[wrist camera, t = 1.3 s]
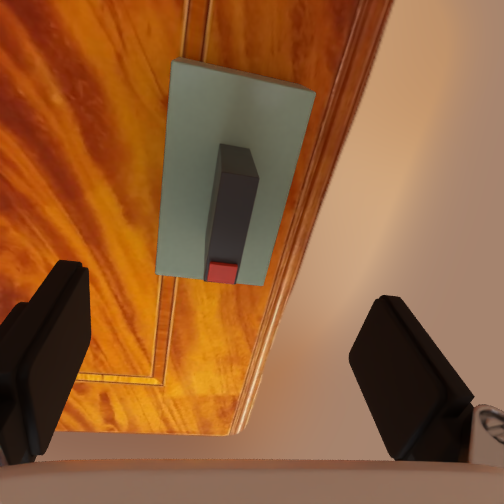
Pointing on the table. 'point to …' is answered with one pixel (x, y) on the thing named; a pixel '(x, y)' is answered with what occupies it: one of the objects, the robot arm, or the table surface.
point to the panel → (205, 158)
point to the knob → (229, 213)
